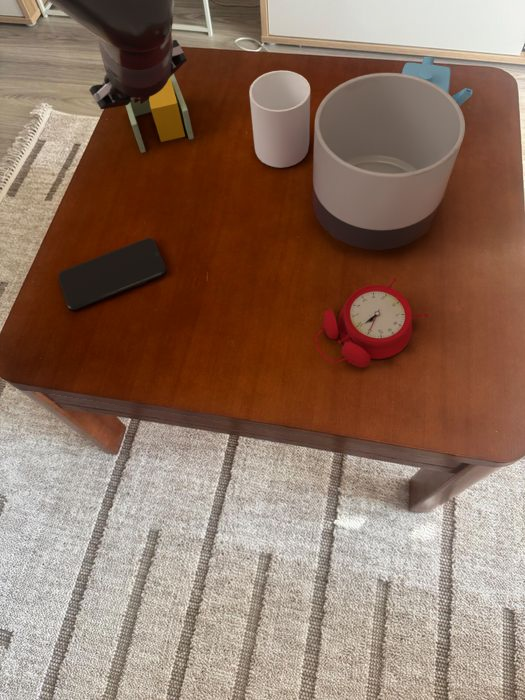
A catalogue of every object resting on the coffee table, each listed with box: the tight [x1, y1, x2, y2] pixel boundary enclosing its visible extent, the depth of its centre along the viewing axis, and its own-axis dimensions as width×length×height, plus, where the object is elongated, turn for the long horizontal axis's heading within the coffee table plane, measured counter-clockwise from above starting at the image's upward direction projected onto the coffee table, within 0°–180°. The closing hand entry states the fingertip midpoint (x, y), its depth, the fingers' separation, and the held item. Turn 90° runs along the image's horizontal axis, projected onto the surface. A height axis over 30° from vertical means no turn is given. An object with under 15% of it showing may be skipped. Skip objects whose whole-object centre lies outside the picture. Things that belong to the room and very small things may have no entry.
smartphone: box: [57, 237, 168, 312], centre depth 81 cm, size 8×1×16 cm
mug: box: [248, 70, 311, 169], centre depth 87 cm, size 10×12×12 cm
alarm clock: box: [314, 277, 429, 368], centre depth 73 cm, size 10×6×15 cm
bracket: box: [125, 73, 195, 154], centre depth 93 cm, size 11×10×7 cm
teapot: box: [400, 56, 474, 107], centre depth 88 cm, size 18×14×10 cm
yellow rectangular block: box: [149, 78, 186, 143], centre depth 93 cm, size 7×5×7 cm, turn 14°
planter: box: [311, 72, 466, 251], centre depth 76 cm, size 19×19×18 cm
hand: (140, 94), depth 72 cm, fingers closed
